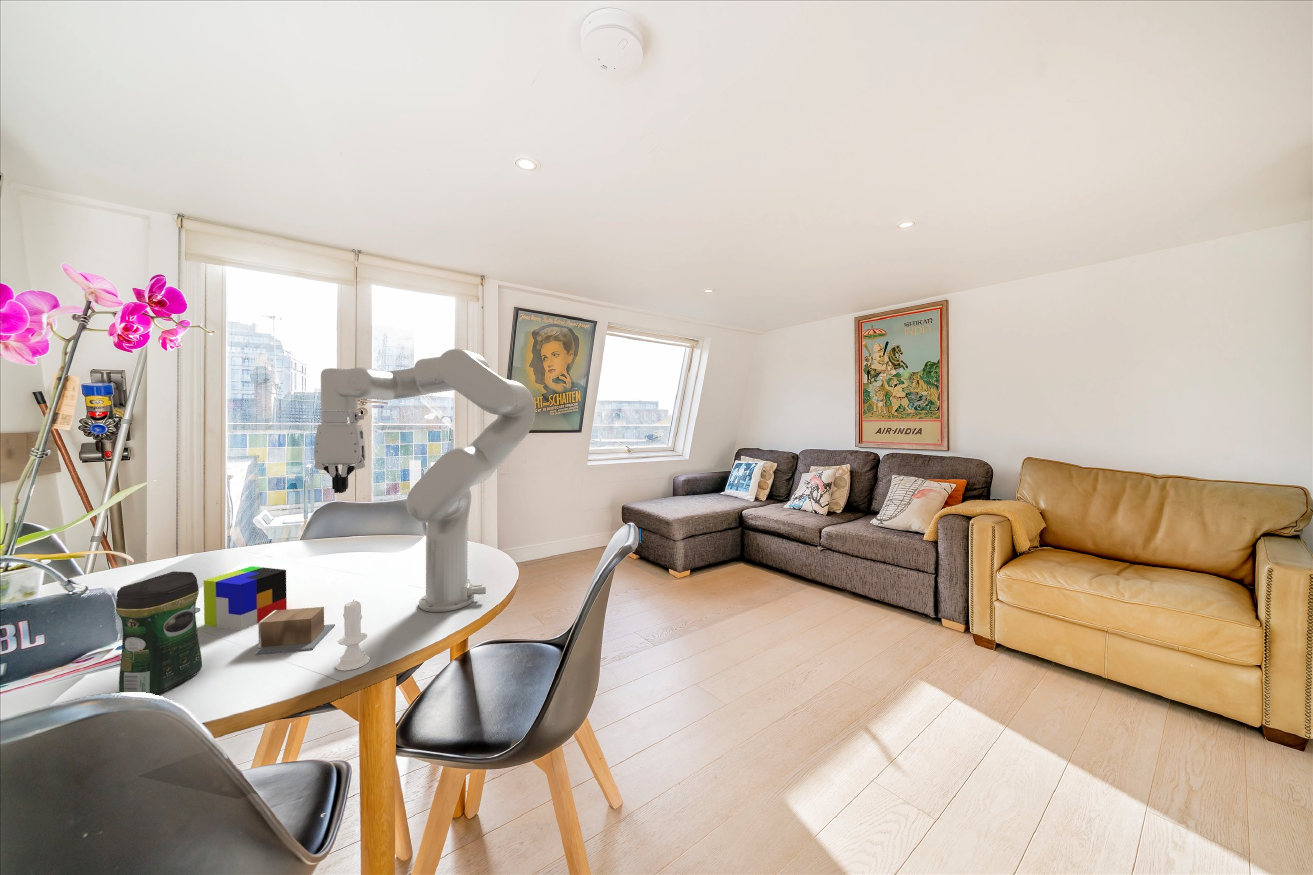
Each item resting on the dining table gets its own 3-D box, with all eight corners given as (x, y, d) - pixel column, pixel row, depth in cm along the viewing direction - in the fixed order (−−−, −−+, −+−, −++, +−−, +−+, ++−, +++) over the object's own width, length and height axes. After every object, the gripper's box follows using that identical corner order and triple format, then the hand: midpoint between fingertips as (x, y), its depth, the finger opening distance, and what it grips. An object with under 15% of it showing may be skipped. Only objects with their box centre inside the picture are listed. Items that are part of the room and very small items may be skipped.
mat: (335, 625, 103) (335, 624, 103) (312, 649, 93) (312, 648, 93) (284, 629, 101) (284, 628, 101) (255, 654, 90) (255, 653, 90)
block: (274, 633, 98) (324, 629, 100) (258, 647, 92) (311, 642, 95) (274, 610, 98) (323, 606, 100) (258, 622, 92) (311, 618, 94)
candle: (346, 656, 90) (346, 595, 90) (375, 656, 91) (374, 595, 90) (328, 671, 85) (328, 606, 84) (359, 671, 85) (358, 606, 85)
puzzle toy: (241, 630, 100) (240, 584, 100) (204, 625, 102) (203, 580, 102) (286, 611, 110) (286, 569, 110) (252, 607, 112) (251, 566, 112)
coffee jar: (170, 667, 85) (168, 566, 85) (211, 669, 85) (209, 568, 84) (105, 698, 76) (101, 585, 75) (151, 701, 75) (148, 587, 74)
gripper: (378, 419, 122) (378, 489, 122) (311, 418, 118) (312, 490, 118) (368, 419, 114) (368, 494, 115) (297, 418, 110) (298, 495, 111)
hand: (340, 492), depth 117 cm, fingers closed
